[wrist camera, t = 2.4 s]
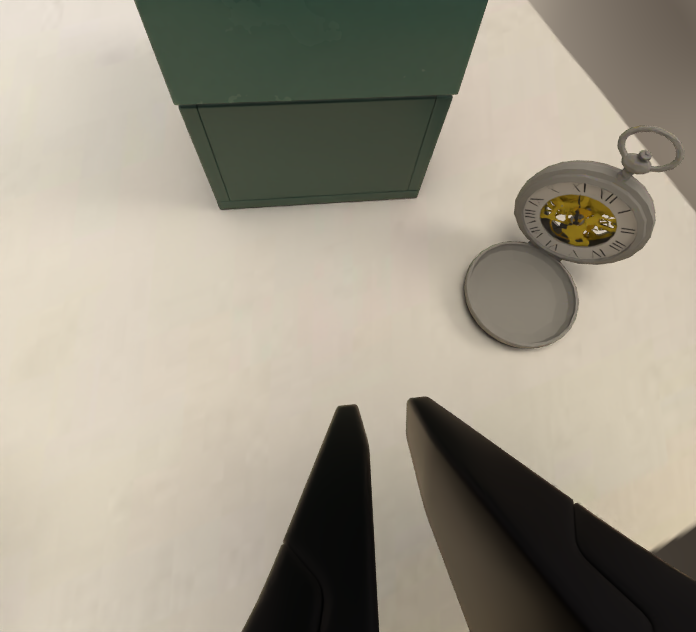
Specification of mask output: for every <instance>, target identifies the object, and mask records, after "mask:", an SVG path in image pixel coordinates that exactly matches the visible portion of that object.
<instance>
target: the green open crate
mask: <svg viewBox="0 0 696 632" xmlns="http://www.w3.org/2000/svg"><path fill="white" fill-rule="evenodd" d="M452 98H453V97H452V95H430V96H403V97H376V98H349V99H323V100H296V101H269V102H242V103H215V104H188V105H179V110H180V112H181V115H182V117H183V120H184V122H185V125H186V127H187V130H188V132H189V134H190V137H191V139H192V142H193V144H194V147H195V149H196V152H197V154H198V156H199V159H200V161H201V164H202V166H203V169H204V171H205V173H206V176H207V178H208V181H209V183H210V186H211V188H212V191H213V193H214V195H215V198H216V200H217V203H218V205H219V208H220V209H236V208H252V207H268V206H285V205H301V204H318V203H334V202H350V201H367V200H383V199H400V198H416V197H417V195H418V192H419V190H420V187H421V184H422V182H423V179H424V176H425V173H426V170H427V168H428V165H429V162H430V159H431V157H432V154H433V151H434V148H435V145H436V143H437V140H438V137H439V134H440V132H441V129H442V126H443V123H444V120H445V118H446V115H447V112H448V109H449V107H450V104H451V101H452Z"/></svg>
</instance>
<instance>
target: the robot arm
mask: <svg viewBox="0 0 696 632" xmlns="http://www.w3.org/2000/svg"><path fill="white" fill-rule="evenodd" d="M406 436H407V442H408V446H409V450H410V454H411V458H412V462H413V466H414V470H415V474H416V478H417V482H418V486H419V490H420V494H421V498H422V501H423V505H424V509H425V512H426V515H427V518H428V521H429V523H430V526H431V529H432V531H433V534H434V537H435V539H436V542H437V545H438V547H439V550H440V553H441V555H442V558H443V561H444V563H445V566H446V569H447V571H448V574H449V577H450V579H451V582H452V585H453V587H454V590H455V593H456V595H457V598H458V601H459V603H460V606H461V609H462V611H463V614H464V617H465V619H466V622H467V625H468V627H469V630H470V632H696V581H695V580H694V579H692V578H690V577H689V576H687V575H686V574H684V573H682V572H681V571H679V570H678V569H676V568H674V567H673V566H671V565H669V564H668V563H666V562H665V561H663V560H662V559H660V558H659V557H657V556H655V555H654V554H652V553H651V552H649V551H647V550H646V549H644V548H643V547H641V546H640V545H638V544H636V543H635V542H633V541H632V540H630V539H629V538H627V537H626V536H625V535H623V534H622V533H620V532H619V531H617V530H616V529H614V528H613V527H611V526H610V525H608V524H607V523H605V522H604V521H603V520H601V519H600V518H598V517H597V516H595V515H594V514H593V513H591V512H590V511H588V510H587V509H585V508H584V507H583V506H581V505H580V504H578V503H575V504H574V502H573V500H572V499H571V498H570V497H568V496H567V495H566V494H564V493H563V492H561V491H560V490H558V489H557V488H556V487H554V486H553V485H551V484H550V483H549V482H547V481H546V480H544V479H543V478H542V477H540V476H539V475H537V474H536V473H535V472H533V471H532V470H530V469H529V468H528V467H526V466H525V465H523V464H522V463H521V462H519V461H518V460H516V459H515V458H513V457H512V456H511V455H509V454H508V453H506V452H505V451H504V450H502V449H501V448H499V447H498V446H497V445H495V444H494V443H492V442H491V441H490V440H488V439H487V438H485V437H484V436H483V435H481V434H480V433H478V432H477V431H475V430H474V429H473V428H471V427H470V426H468V425H467V424H466V423H464V422H463V421H461V420H460V419H459V418H457V417H456V416H454V415H453V414H452V413H450V412H449V411H447V410H446V409H445V408H443V407H442V406H440V405H439V404H437V403H436V402H435V401H433V400H432V399H430V398H429V397H416V398H410V399H409V400H408V401H407V413H406ZM283 543H284V544H282V545H281V547H280V549H279V552H278V554H277V557H276V559H275V562H274V564H273V567H272V569H271V571H270V574H269V576H268V578H267V580H266V583H265V585H264V587H263V589H262V592H261V594H260V596H259V599H258V601H257V603H256V605H255V607H254V609H253V611H252V613H251V615H250V616H249V618H248V620H247V622H246V624H245V626H244V628H243V630H242V632H379V619H378V601H377V582H376V563H375V544H374V525H373V506H372V487H371V469H370V452H369V444H368V440H367V436H366V433H365V429H364V426H363V422H362V419H361V416H360V412H359V409H358V406H357V405H355V404H352V405H343V406H338V407H337V409H336V411H335V413H334V416H333V418H332V421H331V423H330V426H329V428H328V431H327V433H326V436H325V438H324V441H323V443H322V445H321V448H320V450H319V453H318V455H317V458H316V460H315V463H314V465H313V468H312V470H311V473H310V475H309V478H308V480H307V483H306V485H305V488H304V490H303V493H302V495H301V498H300V500H299V503H298V505H297V508H296V510H295V513H294V515H293V518H292V520H291V523H290V525H289V528H288V530H287V533H286V535H285V538H284V540H283Z"/></svg>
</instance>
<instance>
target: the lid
mask: <svg viewBox="0 0 696 632" xmlns="http://www.w3.org/2000/svg"><path fill="white" fill-rule="evenodd" d="M134 1H135V4H136V7H137V9H138V12H139V14H140V17H141V20H142V22H143V25H144V27H145V30H146V33H147V35H148V38H149V40H150V43H151V46H152V48H153V51H154V53H155V56H156V59H157V61H158V64H159V66H160V69H161V72H162V74H163V77H164V79H165V82H166V85H167V87H168V90H169V92H170V95H171V98H172V100H173V103H174V104H175V105H188V104H215V103H242V102H269V101H296V100H323V99H349V98H376V97H403V96H430V95H456V94H458V92H459V89H460V86H461V83H462V80H463V76H464V73H465V70H466V67H467V64H468V61H469V58H470V55H471V52H472V49H473V46H474V43H475V39H476V36H477V33H478V30H479V27H480V24H481V21H482V18H483V15H484V12H485V9H486V6H487V2H488V0H134Z"/></svg>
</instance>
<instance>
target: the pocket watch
mask: <svg viewBox="0 0 696 632" xmlns="http://www.w3.org/2000/svg"><path fill="white" fill-rule="evenodd" d="M637 132H654V133H657V134H660V135H663V136H665V137H666V138H667V139H669V140H670V141H671V142H672V143H673V144H674V146H675V148H676V158H675V160H674V161H673V162H671V163H670V164H667V165H664V166H656V167H654V166H651V163H650V161H649V160H650V159H651V157H652V155H651V152H650V151H649V150H648V151H647V150H642V151H641V152H640V153H639V154H635V153H629V154H628V153H627V151H626V149H625V141H626V139H627V137H628V136H630V135H632V134H635V133H637ZM618 149H619V152H620V154H621V156H622V161H621V162H622V165H623V166H624V168H623V170H621V169H619V168H616V167H614V166H611V165H608V164H604V163H599V162H594V161H580V160H577V161H568V162H561V163H558V164H555V165H551V166H548V167H547V168H545V169H543V170H542V171H540V172H538V173H536V174H535V175H534V176H533V177H532V178H530V179H529V180H528V181H527V182H526V183H525V185H524V186H523V187H522V189H521V190H520V192H519V194H518V196H517V198H516V200H515V209H514V215H515V217H516V220H517V223H518V226H519V228H520V230H521V231H522V232H523V234H524V235H525V237H526V238H527V239H528V240H530V241H529V244H528V243H525V242H512V241H509V242H502V243H498V244H495V245H492V246H490V247H489V248H487V249H485V250H484V251H482V252H481V253H480V254H479V255H478V256H477V257H476V258H475V259H474V260H473V262H472V263H471V265H470V266H469V269H468V272H467V275H466V278H465V284H464V291H465V297H466V303H467V306H468V308H469V310H470V312H471V314H472V316H473V318H474V319H475V321H476V322H477V323H478V325H479V326H480V327H481V328H482V329H483V330H484V331H485V332H486V333H487V334H489V335H490V336H492V337H493V338H495V339H496V340H498V341H500V342H503V343H505V344H507V345H510V346H514V347H519V348H539V347H542V346H546V345H549V344H551V343H554V342H556V341H557V340H559V339H560V338H562V337H563V336H564V335H565V334H566V333H567V332H568V331H569V330H570V328H571V327H572V325H573V323H574V322H575V320H576V316H577V311H578V305H579V299H578V293H577V288H576V286H575V283H574V281H573V279H572V277H571V275H570V273H569V272H568V271H567V270H566V268H565V267H564V266H563V265H562V263H561V262H560V261H561V260H566V261H570V262H574V263H578V264H594V265H599V264H607V263H613V262H617V261H620V260H623V259H626V258H629V257H631V256H632V255H634V254H635V253H636V252H638V251H639V250H641V249H642V248H643V247H644V245H645V244H646V243H647V241H648V240H649V239H650V237H651V234H652V231H653V228H654V224H655V221H656V220H655V208H654V203H653V199H652V198H651V196H650V194H649V193H648V191H647V189H646V188H645V186H643V185H642V184H641V183H640V182H639V181H638V180H637V179H636V178H634V177H633V176H632V175H633V174H634V173H635V174H645V173H648V172H650V171H651V172H663V171H667V170H671V169H674V168H675V167H677V166H678V165H679V164H680V163H681V162H682V160H683V159H684V148H683V146H682V143H681V142H680V141H679V139H678V138H677V137H676V136H674V135H673V134H672V133H670V132H668V131H666V130H664V129H662V128H658V127H654V126H637V127H633V128H630V129H628V130H626V131H625V132H624V133H623V134H621V135H620V137H619V140H618ZM551 201H552V203H553V204H554V205H555V206H553V205H552V204H551ZM547 204H548V205H547ZM547 207H549V208H550V209H552V210H548V209H547ZM558 210H560V211H558ZM549 212H551V213H550V214H549ZM556 213H557V214H556ZM559 214H563V215H565V216H566V220H565V221H560V220H558V219H557V218H556V216H557V215H559ZM603 214H605V215H608V216H609V218H611V217H614V218H615V219H609V218H607V219H606V218H605V217H602V215H603ZM568 215H573V216H572V217H570V218H568ZM587 217H589V218H587ZM602 218H603V219H604V220H605V221H607V220H608V221H611V225H612V226H614V228H611V227H609V226H608V224H609V223H608V221H607V222H600V221H604V220H603V219H602ZM555 221H558V222H561V224H560V226H559V225H558V224H557V223H556V222H555ZM603 224H607V226H606V225H603ZM577 225H579V226H577ZM595 226H597V227H598V230H601V228H602V230H606V231H607V232H605V233H602V234H595V233H594V232H593V231H592V230H591V229H594V227H595ZM585 230H586V231H587V232H586V233H585V234H583V232H584V231H585ZM594 230H596V231H598V230H597V229H594ZM588 232H589V234H588Z"/></svg>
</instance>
